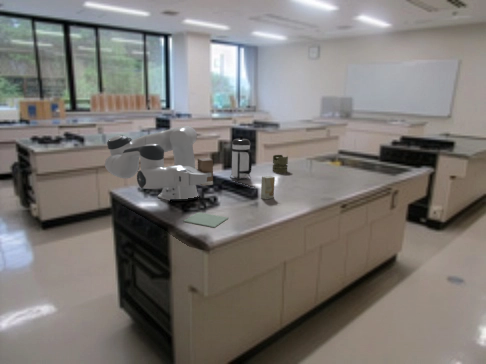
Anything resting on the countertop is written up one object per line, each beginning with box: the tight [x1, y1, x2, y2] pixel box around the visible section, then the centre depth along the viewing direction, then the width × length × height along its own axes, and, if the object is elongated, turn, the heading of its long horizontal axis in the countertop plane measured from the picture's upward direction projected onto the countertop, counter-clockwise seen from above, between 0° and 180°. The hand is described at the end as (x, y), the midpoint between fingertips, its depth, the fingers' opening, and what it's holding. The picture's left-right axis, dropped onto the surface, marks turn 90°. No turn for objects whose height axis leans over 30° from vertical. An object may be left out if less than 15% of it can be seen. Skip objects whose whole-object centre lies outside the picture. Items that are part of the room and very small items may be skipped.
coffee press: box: [229, 134, 253, 182], centre depth 233 cm, size 17×16×30 cm
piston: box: [271, 154, 289, 174], centre depth 262 cm, size 11×12×11 cm
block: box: [197, 157, 214, 186], centre depth 150 cm, size 5×5×11 cm
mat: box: [183, 212, 229, 228], centre depth 156 cm, size 16×13×1 cm
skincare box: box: [260, 175, 276, 200], centre depth 191 cm, size 6×4×12 cm
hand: (207, 172), depth 151 cm, fingers closed on block, 5 cm apart
